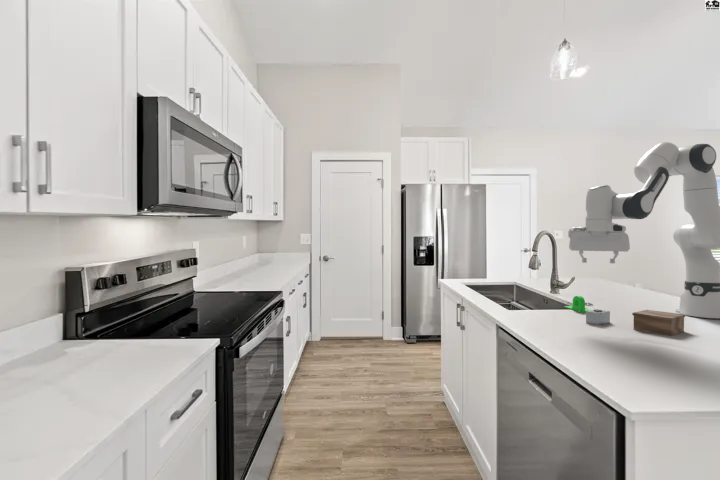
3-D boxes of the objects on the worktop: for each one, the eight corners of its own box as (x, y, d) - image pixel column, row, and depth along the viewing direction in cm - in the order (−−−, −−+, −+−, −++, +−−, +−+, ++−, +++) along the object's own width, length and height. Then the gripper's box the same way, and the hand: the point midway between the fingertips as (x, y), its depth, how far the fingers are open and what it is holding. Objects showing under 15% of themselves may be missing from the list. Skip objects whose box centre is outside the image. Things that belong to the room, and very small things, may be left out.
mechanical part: (593, 315, 176) (593, 296, 176) (580, 315, 175) (580, 296, 175) (575, 310, 188) (575, 293, 188) (563, 310, 187) (563, 293, 187)
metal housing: (596, 321, 162) (596, 308, 162) (609, 323, 158) (609, 310, 158) (585, 324, 157) (586, 310, 157) (599, 326, 153) (599, 312, 153)
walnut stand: (646, 325, 154) (646, 309, 154) (685, 331, 144) (685, 314, 144) (632, 329, 148) (632, 312, 148) (671, 335, 138) (671, 318, 138)
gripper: (568, 227, 159) (568, 262, 159) (630, 226, 150) (630, 264, 150) (568, 227, 164) (567, 261, 165) (627, 227, 156) (627, 263, 156)
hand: (598, 262), depth 157 cm, fingers open, 8 cm apart
